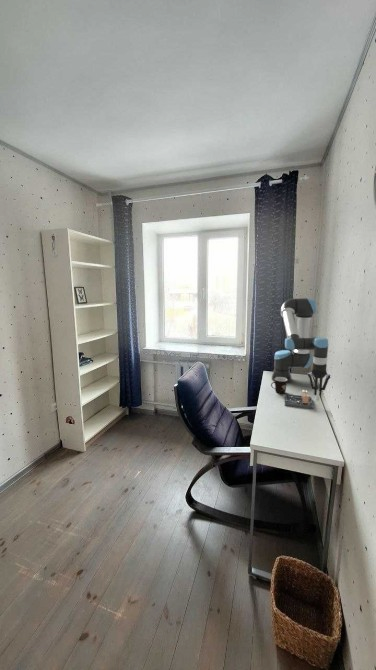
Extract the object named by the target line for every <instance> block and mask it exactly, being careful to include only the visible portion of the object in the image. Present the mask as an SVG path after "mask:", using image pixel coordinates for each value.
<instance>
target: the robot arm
mask: <svg viewBox="0 0 376 670" xmlns="http://www.w3.org/2000/svg"><path fill="white" fill-rule="evenodd" d="M316 312H317V304H316V300H314V299H313V298H311V297H309V298H307V297H303V298H301V297H300V298H289V299H286V301H284V302H283V303H282V305H281V306H280V310H279V313H280V316H281V317H282V319H283V325H284V330H285V333H286V334H285V335H286V338H285V339H284V348H285V349H282V350H281V349H280V350H278V351H276V352H275V353H274V358H273V359H274V364H273V365H274V369H273V372H272V375H271V381H273V382H275V378H276V377H284V378H286V379H287V384H288V383H290V382H292V380H293V378H292V374H291V371H290V370H291V368H294V369H295V368H301V369H306V368H310V366H311V364H312V370H311V372H307V376H308V378H309V383H310V388H311V389H312V390H314V393H313V394H314V396H315V401H316V402H319V401H320V396H322V391H325V390H326V388H327V385H328V384H329V383H328V382H329V381H330V379H331V377H330V376H331V374H329V373H328V372H327V366H328V364H327V363H328V352H329V351H328V350H329V339H328V338H326V337H321V336H320V337H317V336H311V337H310V325H311V323H310V322H311V319H312V318H314V317H313V316H314V315H315V314H317V313H316ZM296 319H297V321H296ZM290 350H291V351H293V352H291V351H290ZM310 351H313V356H312V353H311V352H310ZM312 358H313V359H312ZM312 362H313V363H312ZM312 376H313V377H314V383H313V378H312ZM324 378H325V380H324V382H323V379H324ZM318 379H319V383H318ZM318 385H319V386H318Z"/></svg>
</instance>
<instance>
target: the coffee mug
mask: <svg viewBox="0 0 376 670" xmlns="http://www.w3.org/2000/svg"><path fill="white" fill-rule="evenodd" d="M273 384H274V387H273ZM270 386H271V387H272V389H274V390H275V393H276V394H278V395H286V389H287V386H288V383H287V379H286V378H284V377H276V378H275V381H273V382H271V384H270Z"/></svg>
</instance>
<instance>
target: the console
mask: <svg viewBox="0 0 376 670" xmlns="http://www.w3.org/2000/svg"><path fill="white" fill-rule="evenodd" d="M284 396H285V397H284V406H286V407H294V408H303V409H311V410H313V401H312V396H308V403H303V398H302V395H296V394H291V393H290V394H289V393H285V394H284Z"/></svg>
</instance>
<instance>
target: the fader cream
mask: <svg viewBox="0 0 376 670" xmlns="http://www.w3.org/2000/svg"><path fill="white" fill-rule="evenodd" d="M303 394H306V395H308V390H307V389H302V390H301V396H302V398H303Z"/></svg>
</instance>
